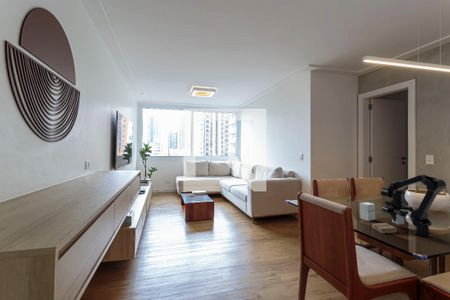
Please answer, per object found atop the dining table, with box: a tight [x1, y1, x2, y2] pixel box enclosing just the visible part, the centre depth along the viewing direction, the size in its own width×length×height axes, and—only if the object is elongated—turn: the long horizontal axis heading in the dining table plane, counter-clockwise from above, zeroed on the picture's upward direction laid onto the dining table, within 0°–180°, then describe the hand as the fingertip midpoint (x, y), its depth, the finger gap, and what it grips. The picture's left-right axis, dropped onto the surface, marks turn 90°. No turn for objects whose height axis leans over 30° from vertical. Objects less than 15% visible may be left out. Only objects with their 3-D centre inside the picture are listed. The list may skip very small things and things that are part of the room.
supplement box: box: [359, 201, 376, 222], centre depth 179 cm, size 7×7×13 cm
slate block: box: [391, 214, 405, 225], centre depth 160 cm, size 5×5×5 cm
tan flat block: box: [371, 222, 398, 234], centre depth 156 cm, size 10×10×3 cm
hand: (398, 221), depth 160 cm, fingers closed on slate block, 5 cm apart
